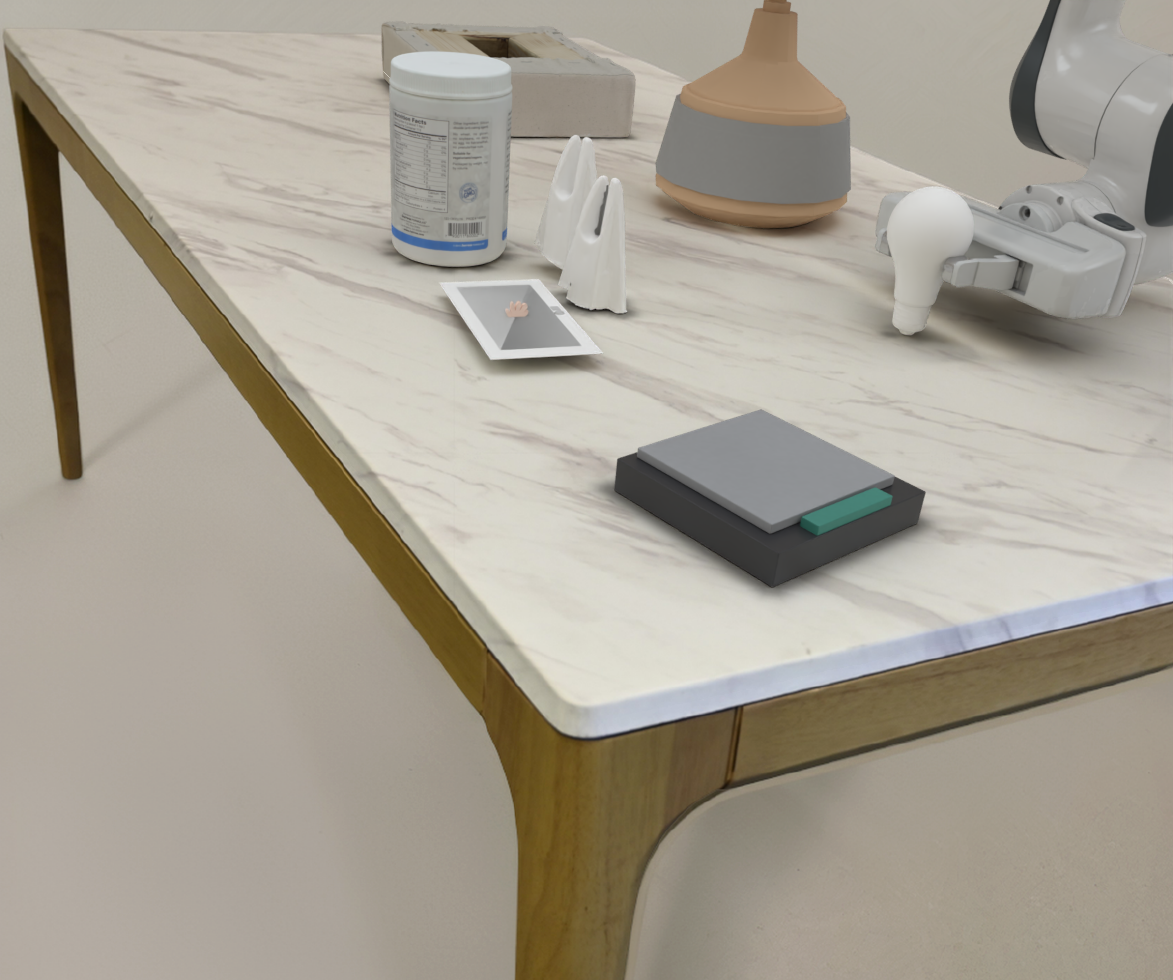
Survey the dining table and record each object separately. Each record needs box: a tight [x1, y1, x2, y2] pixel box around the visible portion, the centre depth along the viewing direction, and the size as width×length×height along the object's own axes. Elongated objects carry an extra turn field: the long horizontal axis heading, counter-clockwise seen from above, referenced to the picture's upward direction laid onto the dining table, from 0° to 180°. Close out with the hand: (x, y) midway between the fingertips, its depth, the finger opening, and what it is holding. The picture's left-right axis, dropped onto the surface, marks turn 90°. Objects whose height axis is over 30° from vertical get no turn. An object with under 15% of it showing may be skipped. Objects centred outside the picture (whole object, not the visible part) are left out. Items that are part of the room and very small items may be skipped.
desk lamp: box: [654, 0, 852, 229], centre depth 110 cm, size 22×19×37 cm
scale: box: [613, 408, 927, 588], centre depth 67 cm, size 12×12×3 cm
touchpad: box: [438, 278, 604, 361], centre depth 87 cm, size 8×15×2 cm, turn 19°
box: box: [380, 20, 636, 138], centre depth 148 cm, size 23×8×32 cm
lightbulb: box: [887, 185, 974, 336], centre depth 90 cm, size 6×6×11 cm
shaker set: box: [533, 135, 628, 314], centre depth 93 cm, size 12×4×11 cm, turn 19°
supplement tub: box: [388, 51, 512, 268], centre depth 97 cm, size 10×10×15 cm
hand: (915, 257), depth 90 cm, fingers closed on lightbulb, 6 cm apart
